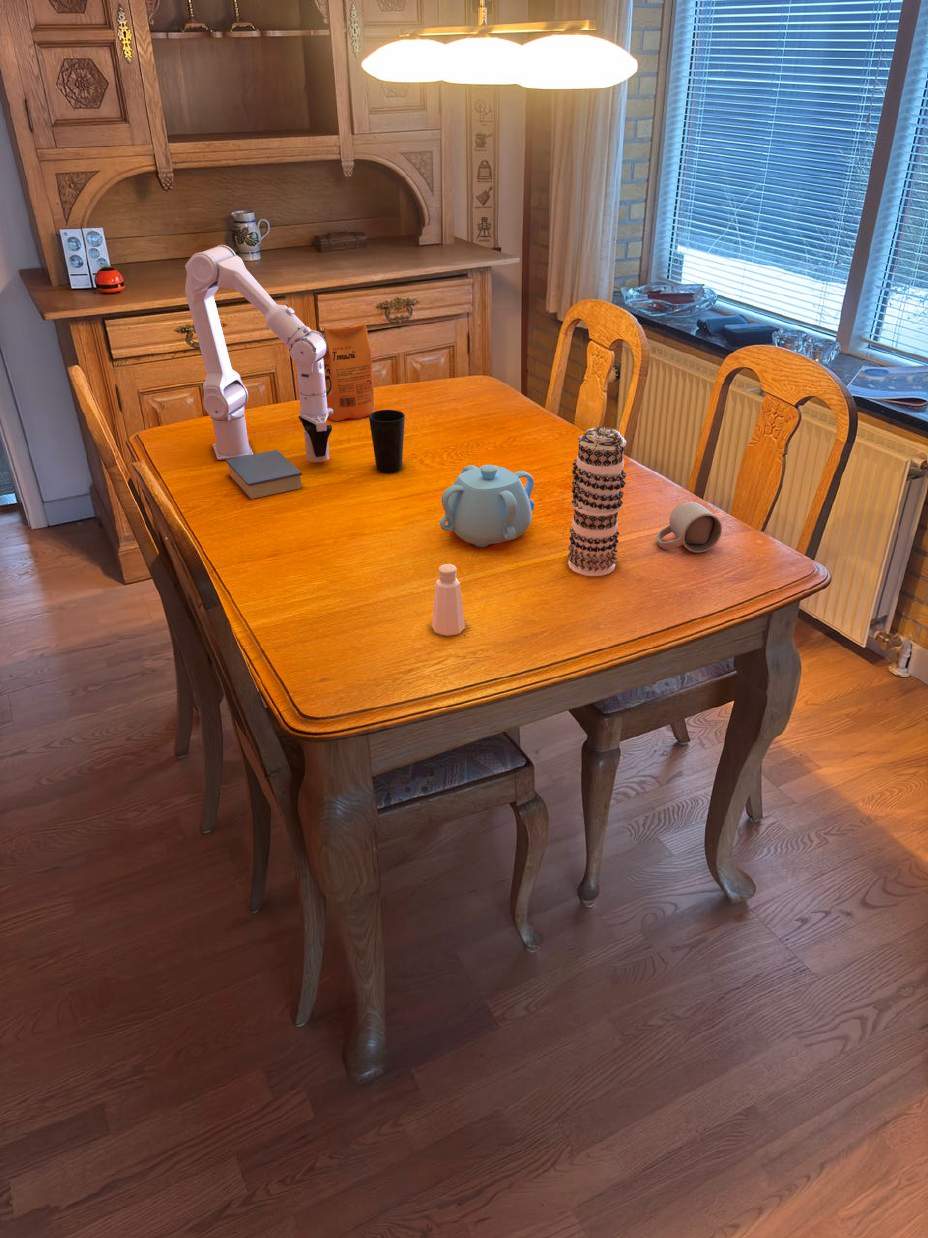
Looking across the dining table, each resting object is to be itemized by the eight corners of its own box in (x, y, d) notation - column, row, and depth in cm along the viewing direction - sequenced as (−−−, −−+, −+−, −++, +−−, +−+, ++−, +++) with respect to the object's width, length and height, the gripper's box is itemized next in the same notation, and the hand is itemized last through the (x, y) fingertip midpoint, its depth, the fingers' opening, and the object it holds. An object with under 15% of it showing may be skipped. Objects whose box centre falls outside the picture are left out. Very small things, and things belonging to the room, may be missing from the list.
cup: (409, 462, 207) (407, 410, 201) (403, 475, 201) (401, 422, 195) (375, 460, 208) (372, 408, 202) (368, 474, 202) (365, 421, 195)
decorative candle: (555, 562, 168) (562, 430, 154) (592, 548, 172) (602, 418, 159) (590, 582, 162) (601, 446, 148) (627, 567, 166) (642, 433, 153)
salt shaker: (450, 614, 153) (449, 555, 147) (472, 628, 149) (472, 568, 143) (424, 626, 150) (422, 566, 144) (446, 640, 146) (445, 579, 140)
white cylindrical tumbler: (304, 455, 208) (302, 429, 204) (326, 452, 209) (324, 426, 206) (309, 463, 204) (306, 437, 200) (331, 460, 205) (329, 434, 202)
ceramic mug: (700, 531, 178) (705, 494, 174) (719, 550, 171) (725, 512, 167) (648, 537, 176) (652, 500, 172) (666, 557, 169) (670, 519, 165)
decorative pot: (510, 560, 168) (513, 491, 161) (431, 543, 174) (430, 475, 167) (542, 524, 181) (545, 458, 174) (467, 509, 187) (467, 445, 179)
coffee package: (319, 410, 236) (312, 322, 224) (366, 404, 240) (361, 317, 228) (330, 423, 228) (323, 333, 216) (378, 416, 232) (374, 327, 221)
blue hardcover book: (227, 475, 201) (225, 459, 199) (278, 464, 206) (277, 449, 204) (250, 499, 191) (247, 483, 189) (303, 488, 195) (301, 472, 194)
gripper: (338, 399, 194) (343, 461, 201) (323, 379, 205) (328, 437, 212) (305, 403, 192) (310, 465, 199) (291, 382, 203) (297, 441, 210)
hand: (317, 451), depth 205 cm, fingers closed on white cylindrical tumbler, 5 cm apart
